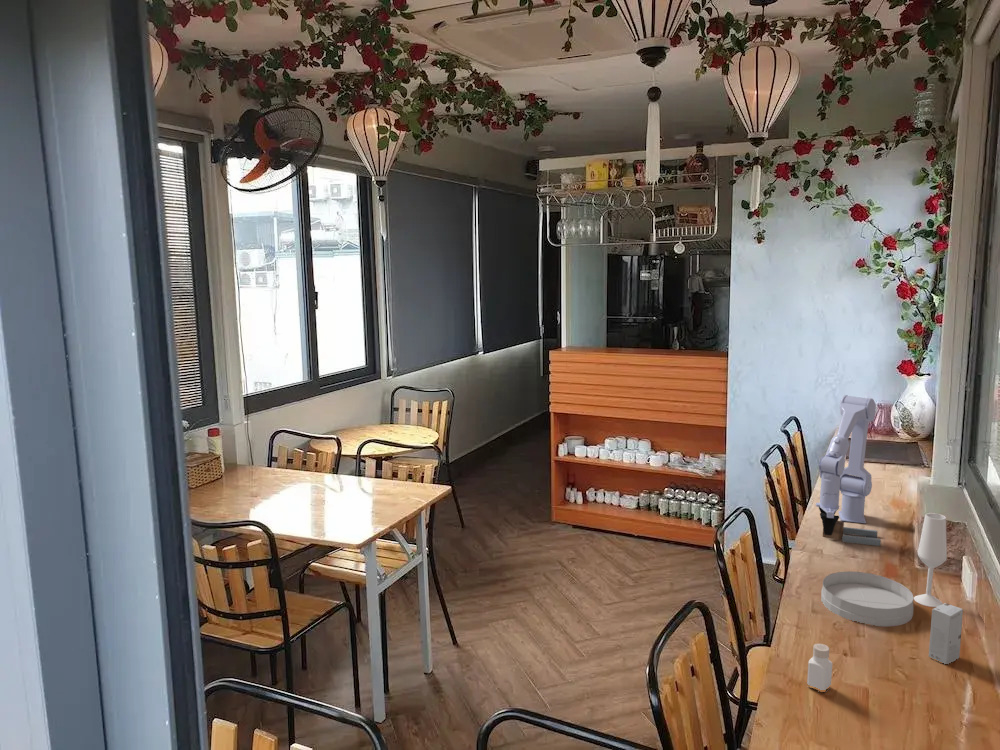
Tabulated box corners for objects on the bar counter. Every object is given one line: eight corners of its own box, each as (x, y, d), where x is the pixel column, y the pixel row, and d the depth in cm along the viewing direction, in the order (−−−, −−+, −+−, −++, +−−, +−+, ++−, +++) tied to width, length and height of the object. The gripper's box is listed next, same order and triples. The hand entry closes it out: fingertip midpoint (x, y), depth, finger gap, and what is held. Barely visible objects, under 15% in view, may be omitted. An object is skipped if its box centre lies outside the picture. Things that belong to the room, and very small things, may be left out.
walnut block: (827, 532, 247) (828, 518, 246) (842, 536, 243) (843, 521, 243) (822, 536, 244) (823, 522, 243) (838, 540, 240) (839, 525, 239)
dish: (901, 592, 205) (902, 575, 204) (923, 632, 184) (925, 613, 183) (815, 584, 210) (816, 567, 209) (827, 621, 189) (828, 603, 188)
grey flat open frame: (840, 532, 247) (840, 526, 246) (876, 536, 243) (877, 530, 243) (842, 541, 239) (842, 535, 239) (880, 545, 235) (880, 540, 235)
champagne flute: (945, 608, 195) (953, 522, 191) (916, 604, 197) (923, 519, 193) (939, 597, 201) (946, 513, 197) (911, 593, 203) (918, 510, 199)
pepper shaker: (805, 687, 161) (808, 647, 159) (813, 679, 164) (816, 640, 162) (824, 695, 158) (827, 654, 156) (831, 687, 161) (834, 647, 159)
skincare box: (947, 666, 168) (951, 616, 166) (926, 657, 172) (931, 608, 170) (960, 657, 172) (965, 609, 170) (940, 649, 175) (944, 601, 173)
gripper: (815, 484, 250) (813, 522, 252) (817, 497, 236) (815, 538, 239) (838, 486, 248) (835, 524, 250) (842, 500, 234) (839, 540, 236)
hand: (827, 531), depth 244 cm, fingers closed on walnut block, 5 cm apart
